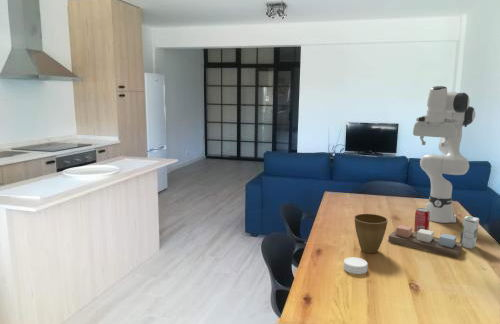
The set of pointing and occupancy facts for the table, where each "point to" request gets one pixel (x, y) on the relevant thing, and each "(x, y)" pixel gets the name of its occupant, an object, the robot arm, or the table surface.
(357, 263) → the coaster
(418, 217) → the soda can
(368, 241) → the plant pot
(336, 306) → the table surface
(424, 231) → the white key
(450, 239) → the blue-grey key
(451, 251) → the key panel
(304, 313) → the table surface
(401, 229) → the terracotta key
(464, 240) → the syrup box
